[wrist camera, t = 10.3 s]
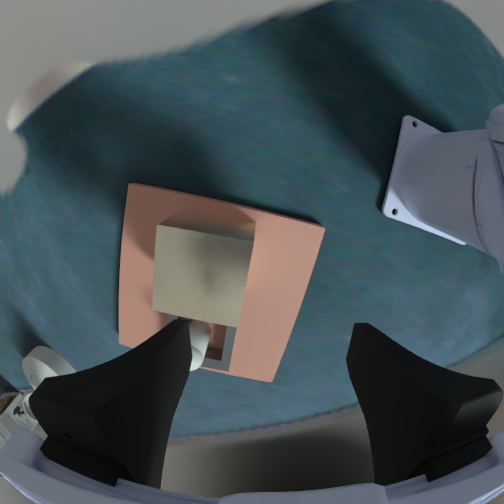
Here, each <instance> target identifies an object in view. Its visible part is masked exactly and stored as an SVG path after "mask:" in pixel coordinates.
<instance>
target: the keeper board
mask: <svg viewBox="0 0 504 504" xmlns="http://www.w3.org/2000/svg"><path fill="white" fill-rule="evenodd" d="M181 210H188V211H194V212H200V213H206V214H212V215H218V216H224V217H230V218H235V219H241V220H247V221H252V222H256V228H255V238H254V245H253V250H252V256H251V261H250V266H249V272H248V277H247V282H246V288H245V293H244V298H243V304H242V309H241V314H240V320H239V325H238V328H237V329H236V335H235V340H234V346H233V351H232V356H231V362H230V367H229V372H227V371H222V370H216V369H211V368H206V367H201V364H202V363H203V359H204V356H205V352H206V349H207V347H213V348H218V349H223V347H224V341H225V335H226V329H227V326H226V325H220V324H215V323H210V322H205V321H200V320H195V319H190V318H186V317H182V320H188V321H189V331H190V340H191V348H192V356H193V357H192V362H191V367H190V371H192V370H196V369H197V368H203V369H207V370H212V371H216V372H220V373H225V374H229V375H234V376H239V377H244V378H250V379H255V380H261V381H266V382H272V381H273V378H274V376H275V373H276V371H277V368H278V366H279V363H280V360H281V358H282V355H283V353H284V350H285V347H286V345H287V342H288V339H289V337H290V334H291V331H292V328H293V326H294V323H295V320H296V317H297V315H298V312H299V309H300V306H301V303H302V300H303V297H304V294H305V291H306V288H307V285H308V282H309V279H310V276H311V273H312V270H313V267H314V264H315V261H316V257H317V254H318V251H319V248H320V245H321V241H322V238H323V235H324V231H325V227H324V226H323V225H320V224H316V223H312V222H309V221H305V220H301V219H297V218H293V217H289V216H285V215H281V214H277V213H273V212H269V211H265V210H261V209H257V208H252V207H248V206H244V205H240V204H235V203H231V202H226V201H222V200H218V199H213V198H208V197H204V196H199V195H194V194H190V193H185V192H180V191H175V190H170V189H165V188H160V187H155V186H150V185H144V184H139V183H130V184H129V186H128V192H127V199H126V207H125V215H124V224H123V234H122V245H121V258H120V277H119V343H120V344H122V345H125V346H128V347H131V348H135V347H136V346H138V345H139V344H141V343H142V342H144V341H146V340H147V339H148V338H150V337H151V336H153V335H154V334H155V333H157V332H158V331H159V330H161V329H162V328H163V327H165V326H166V325H167V324H168V313H163V312H159V311H155V310H152V301H153V273H154V256H155V242H156V229H157V224H159V223H160V222H162V221H164V220H166V219H167V218H169V217H171V216H173V215H174V214H176V213H178V212H180V211H181Z"/></svg>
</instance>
